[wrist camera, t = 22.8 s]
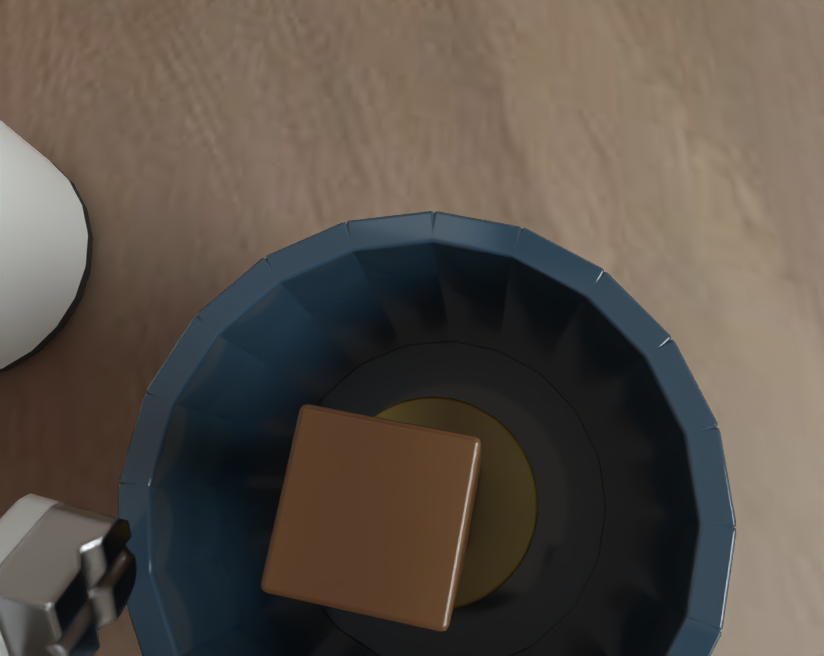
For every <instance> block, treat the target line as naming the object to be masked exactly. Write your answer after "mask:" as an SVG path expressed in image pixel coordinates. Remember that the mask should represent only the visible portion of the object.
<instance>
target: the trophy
mask: <svg viewBox="0 0 824 656" xmlns="http://www.w3.org/2000/svg"><path fill="white" fill-rule="evenodd" d="M537 516H538V492H537V486H536V480H535V477H534V473H533V470H532V467H531V464H530V462H529V460H528V457H527V455H526V453H525V451H524V450H523V448H522V447H521V445H520V443H519V442H518V440H517V439H516V438H515V437H514V435H513V434H512V433H511V432H510V430H508V429H507V428H506V427H505V426H504V425H503V424H502V423H501V422H500V421H499V420H498V419H496V418H495V417H493V416H492V415H491V414H489V413H488V412H486V411H484V410H482V409H481V408H479V407H477V406H474V405H472V404H469V403H467V402H464V401H460V400H456V399H452V398H445V397H421V398H415V399H410V400H406V401H403V402H399V403H397V404H395V405H392V406H390V407H388V408H386V409H384V410H382V411H381V412H379V413H377V414H376V415H374V416H368V415H363V414H358V413H353V412H347V411H342V410H337V409H332V408H326V407H321V406H316V405H311V404H306V405H303V406H302V407H301V409H300V410H299V415H298V419H297V424H296V428H295V433H294V437H293V442H292V446H291V451H290V455H289V460H288V464H287V468H286V473H285V477H284V482H283V486H282V491H281V495H280V500H279V504H278V509H277V513H276V518H275V522H274V527H273V531H272V536H271V540H270V545H269V549H268V553H267V558H266V562H265V567H264V571H263V576H262V580H261V588H262V590H263V591H265V592H266V593H269V594H274V595H278V596H283V597H287V598H292V599H296V600H300V601H305V602H309V603H314V604H318V605H323V606H327V607H332V608H336V609H341V610H345V611H350V612H354V613H358V614H363V615H367V616H372V617H376V618H381V619H385V620H390V621H394V622H399V623H403V624H408V625H412V626H416V627H421V628H425V629H430V630H434V631H439V632H441V631H446V630H447V628H448V627H449V625H450V620H451V616H452V612H453V609H457V608H460V607H464V606H468V605H470V604H472V603H475V602H477V601H479V600H482V599H483V598H485V597H487V596H488V595H490V594H491V593H493V592H494V591H496V590H497V589H498V588H499V587H501V586H502V585H503V584H504V583H505V582H506V581H507V580H508V579H509V578H510V577H511V576H512V575H513V574H514V572H515V571H516V570H517V568H518V567H519V565H520V564H521V563H522V561H523V559H524V557H525V555H526V554H527V552H528V550H529V547H530V545H531V542H532V539H533V536H534V533H535V528H536V524H537Z"/></svg>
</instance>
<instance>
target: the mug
mask: <svg viewBox="0 0 824 656" xmlns="http://www.w3.org/2000/svg"><path fill="white" fill-rule="evenodd" d="M92 240H93V237H92V232H91V227H90V222H89V217H88V212H87V208H86V206H85V205H84V203H83V201H82V199H81V197H80V195H79V193H78V191H77V189H76V188H75V186H74V184H73V183H72V182H71V181H70V180H69V179H68V178H67V177H66V176H65V175H64V174H63V173H62V172H61V171H60V170H59V169H58V168H57V167H56V166H55V165H54V164H53V163H52V162H50V161H49V160H48V159H47V158H46V157H44V156H43V155H42V154H41V153H40V152H38V151H37V150H36V149H35V148H34V147H32V146H31V145H30V144H29V143H27V142H26V141H25V140H24V139H23V138H21V137H20V136H19V135H18V134H17V133H15V132H14V131H13V130H12V129H10V128H9V127H8V126H7V125H6V124H4V123H3V122H2V121H1V120H0V372H2V371H6V370H9V369H10V368H12V367H14V366H15V365H17V364H19V363H20V362H22V361H24V360H25V359H27V358H29V357H30V356H32V355H34V354H35V353H37V352H38V351H40V350H41V349H42V348H43V347H44V346H45V345H46V344H47V343H48V342H49V341H50V340H51V339H52V338H53V337H54V336H55V335H56V334H57V333H58V332H59V331H60V330H61V329H62V328H63V327H64V326H65V324H66V322H67V321H68V319H69V318H70V316H71V314H72V313H73V311H74V310H75V308H76V307H77V305H78V303H79V302H80V300H81V297H82V294H83V291H84V288H85V285H86V282H87V279H88V276H89V273H90V267H91V254H92Z"/></svg>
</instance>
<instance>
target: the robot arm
mask: <svg viewBox="0 0 824 656" xmlns="http://www.w3.org/2000/svg"><path fill="white" fill-rule="evenodd" d="M131 536H132V534H131V530H130V526H129V521H128V520H125V519H122V518H118V517H114V516H111V515H107V514H104V513H100V512H96V511H93V510H89V509H86V508H82V507H78V506H75V505H71V504H67V503H64V502H61V501H57V500H53V499H50V498H46V497H42V496H38V495H34V494H30V493H29V494H28V495H26V496H24V497H22V498H20V499H19V500H17V501H16V502H15V503H14V504H13V505H12V506H11V507H10V508H9V510H8V511H7V512H6V513H5V514H4V515H3V516H2V517H1V518H0V656H94V655H95V653H96V652H97V650H98V648H99V647H100V646H99V632H98V630H100V629H102V628H104V627H105V626H107V625H109V624H111V623H112V622H114V621H116V620H117V619H118V617H119V616H120V614H121V613H122V611H123V609H124V608H125V606H126V604H127V603H128V601H129V598H130V595H131V593H132V590H133V587H134V585H135V581H136V572H137V565H136V558H135V555H134V554H133V553H132V552H131V551H130V550H129V549H128V547H127V546H126V544H127V542H128V541H129V539H130V538H131Z"/></svg>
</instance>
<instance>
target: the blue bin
mask: <svg viewBox="0 0 824 656" xmlns="http://www.w3.org/2000/svg"><path fill="white" fill-rule="evenodd" d="M146 392H147V393H148V394H145V396H144V398H143V401H142V405H141V408H140V411H139V415H138V418H137V422H136V425H135V428H134V432H133V435H132V439H131V442H130V445H129V449H128V452H127V456H126V459H125V462H124V466H123V469H122V473H121V476H120V483H121V484H120V485H119V487H118V514H119V518H122V519H125V520H128V521H129V526H130V530H131V534H132V536H131V538H130V539H129V541H128V542H127V544H126V546H127V547H128V549H129V550H130V551H131V552H132V553H133V554H134V555H135V558H136V565H137V572H136V581H135V585H134V587H133V590H132V593H131V595H130V598H129V601H128V603H127V604H126V605H127V608H128V611H129V615H130V618H131V621H132V624H133V627H134V630H135V634H136V637H137V640H138V643H139V646H140V650H141V653H142V656H711V654H712V652H713V650H714V648H715V646H716V644H717V642H718V640H719V638H720V636H721V632H720V630H721V629H722V628H723V622H724V615H725V608H726V601H727V594H728V587H729V580H730V573H731V566H732V559H733V552H734V545H735V538H736V529H735V528H734V527H735V526H736V519H735V513H734V508H733V502H732V496H731V491H730V485H729V479H728V474H727V468H726V462H725V456H724V451H723V445H722V439H721V434H720V430H719V428H717V427H716V426H717V421H716V419H715V417H714V415H713V413H712V412H711V410H710V408H709V406H708V404H707V402H706V400H705V398H704V396H703V394H702V392H701V391H700V389H699V387H698V385H697V383H696V381H695V379H694V377H693V375H692V373H691V371H690V370H689V368H688V366H687V364H686V362H685V360H684V358H683V356H682V354H681V352H680V350H679V348H678V347H677V345H676V343H675V342H674V341H673V340H671V336H670V335H669V334H668V333H667V332H666V331H665V330H664V329H663V328H662V327H661V326H660V325H659V324H658V323H657V322H656V321H655V320H654V319H653V318H652V317H651V316H650V315H649V314H648V313H647V312H646V311H645V310H644V309H643V308H642V307H641V306H640V305H639V304H638V303H637V302H636V301H635V300H634V299H633V298H632V297H631V296H630V295H629V294H628V293H627V292H626V291H625V290H624V289H623V288H622V287H621V286H620V285H619V284H618V283H617V282H616V281H615V280H614V279H613V278H612V277H611V276H610V275H609V274H608V273H606V272H604V270H603V269H602V268H601V267H599V266H597V265H595V264H593V263H591V262H589V261H587V260H585V259H583V258H582V257H580V256H578V255H576V254H574V253H572V252H570V251H568V250H566V249H564V248H562V247H561V246H559V245H557V244H555V243H553V242H551V241H549V240H547V239H545V238H543V237H542V236H540V235H538V234H536V233H534V232H532V231H530V230H528V229H526V228H523V229H522V228H521V227H519V226H514V225H508V224H503V223H498V222H492V221H487V220H481V219H476V218H471V217H465V216H460V215H454V214H449V213H443V212H435V213H434V212H431V211H429V212H420V213H411V214H403V215H394V216H385V217H377V218H368V219H360V220H351V221H348V222H347V224H346V223H345V222H344V223H340V224H338V225H336V226H334V227H331V228H329V229H327V230H324V231H322V232H320V233H317V234H315V235H313V236H311V237H308V238H306V239H304V240H301V241H299V242H297V243H295V244H292V245H290V246H288V247H285V248H283V249H281V250H279V251H276V252H274V253H272V254H269V255H267V256H266V259H265V258H263V259H261V260H260V261H258V262H257V263H256V264H255V265H254V266H253V267H251V268H250V269H249V270H248V271H247V272H245V273H244V274H243V275H242V276H241V277H240V278H238V279H237V280H236V281H235V282H234V283H233V284H231V285H230V286H229V287H228V288H227V289H225V290H224V291H223V292H222V293H221V294H220V295H218V296H217V297H216V298H215V299H214V300H213V301H211V302H210V303H209V304H208V305H207V306H205V307H204V308H203V309H202V310H201V311H200V312H198V314H197V317H196V316H195V317H194V318H193V319H192V321H191V322H190V324H189V325H188V327H187V328H186V330H185V332H184V333H183V335H182V336H181V338H180V339H179V341H178V342H177V344H176V345H175V347H174V348H173V350H172V352H171V353H170V355H169V356H168V358H167V359H166V361H165V362H164V364H163V365H162V367H161V368H160V370H159V372H158V373H157V375H156V376H155V378H154V379H153V381H152V382H151V384H150V385H149V387H148V388H147V391H146ZM421 397H445V398H452V399H456V400H460V401H464V402H467V403H469V404H472V405H474V406H477V407H479V408H481V409H482V410H484V411H486V412H488V413H489V414H491V415H492V416H493V417H495V418H496V419H498V420H499V421H500V422H501V423H502V424H503V425H504V426H505V427H506V428H507V429H508V430H510V432H511V433H512V434H513V435H514V437H515V438H516V439H517V440H518V442H519V443H520V445H521V447H522V448H523V450H524V451H525V453H526V455H527V457H528V460H529V462H530V464H531V467H532V470H533V473H534V477H535V480H536V486H537V492H538V516H537V524H536V528H535V533H534V536H533V539H532V542H531V545H530V547H529V550H528V552H527V554H526V555H525V557H524V559H523V561H522V563H521V564H520V565H519V567H518V568H517V570H516V571H515V572H514V574H513V575H512V576H511V577H510V578H509V579H508V580H507V581H506V582H505V583H504V584H503V585H502V586H501V587H499V588H498V589H497V590H496V591H494V592H493V593H491V594H490V595H488V596H487V597H485V598H483V599H482V600H479V601H477V602H475V603H472V604H470V605H468V606H464V607H460V608H457V609H453V612H452V616H451V620H450V625H449V627H448V628H447V630H446V631H441V632H439V631H434V630H430V629H425V628H421V627H416V626H412V625H408V624H403V623H399V622H394V621H390V620H385V619H381V618H376V617H372V616H367V615H363V614H358V613H354V612H350V611H345V610H341V609H336V608H332V607H327V606H323V605H318V604H314V603H309V602H305V601H300V600H296V599H292V598H287V597H283V596H278V595H274V594H269V593H266V592H265V591H263V590H262V588H261V580H262V576H263V571H264V567H265V562H266V558H267V553H268V549H269V545H270V540H271V536H272V531H273V527H274V522H275V518H276V513H277V509H278V504H279V500H280V495H281V491H282V486H283V482H284V477H285V473H286V468H287V464H288V460H289V455H290V451H291V446H292V442H293V437H294V433H295V428H296V424H297V419H298V415H299V410H300V409H301V407H302V406H303V405H306V404H311V405H316V406H321V407H326V408H332V409H337V410H342V411H347V412H353V413H358V414H363V415H368V416H374V415H376V414H377V413H379V412H381V411H382V410H384V409H386V408H388V407H390V406H392V405H395V404H397V403H399V402H403V401H406V400H410V399H415V398H421Z"/></svg>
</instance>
